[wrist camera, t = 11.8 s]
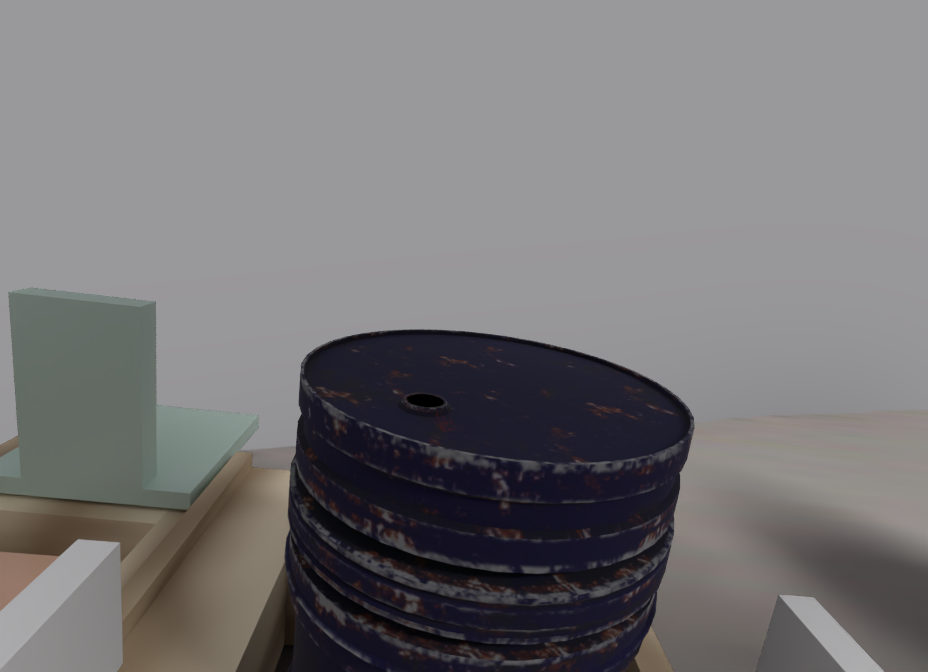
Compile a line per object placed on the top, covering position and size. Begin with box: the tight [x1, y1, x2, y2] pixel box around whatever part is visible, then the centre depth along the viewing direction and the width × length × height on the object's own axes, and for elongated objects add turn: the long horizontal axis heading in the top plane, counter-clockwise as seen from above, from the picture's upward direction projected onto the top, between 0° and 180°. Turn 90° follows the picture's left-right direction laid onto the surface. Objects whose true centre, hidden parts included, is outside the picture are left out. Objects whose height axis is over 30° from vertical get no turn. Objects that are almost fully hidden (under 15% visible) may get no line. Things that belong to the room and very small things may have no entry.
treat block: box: [0, 552, 59, 611], centre depth 20 cm, size 4×4×4 cm
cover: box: [0, 288, 259, 510], centre depth 27 cm, size 9×9×9 cm
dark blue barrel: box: [284, 330, 694, 672], centre depth 16 cm, size 10×10×15 cm
